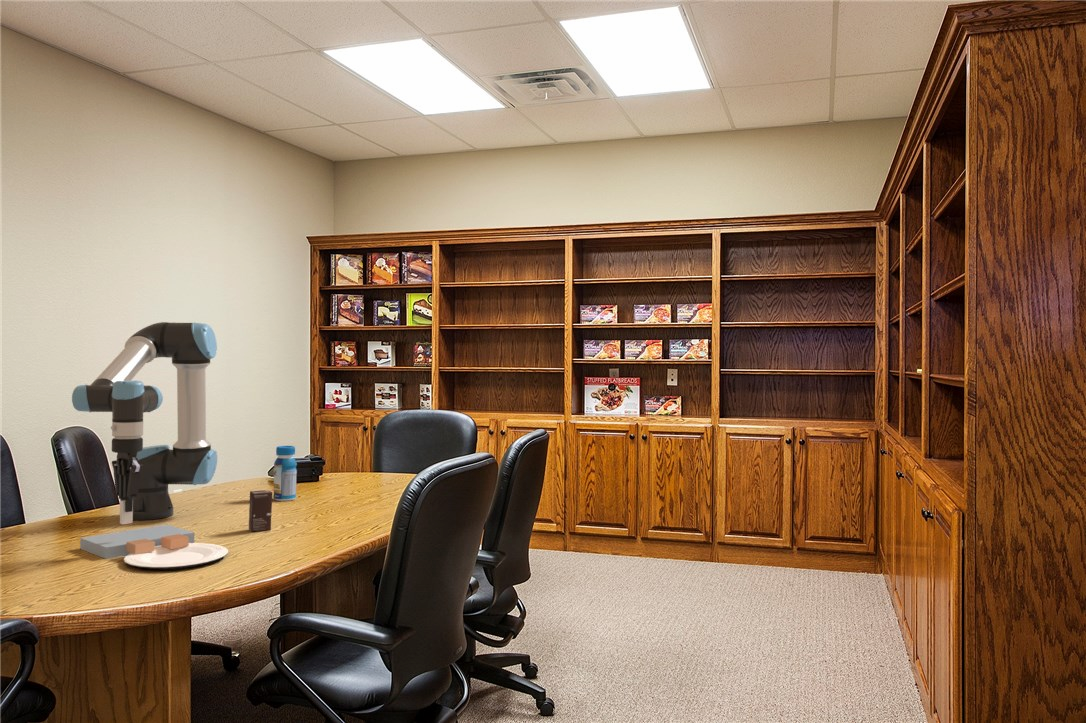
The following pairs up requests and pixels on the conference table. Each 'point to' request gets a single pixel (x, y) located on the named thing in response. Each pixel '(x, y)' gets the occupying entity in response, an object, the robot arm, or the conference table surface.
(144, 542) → the tile
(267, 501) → the box
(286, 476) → the beverage bottle
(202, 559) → the plate
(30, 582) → the conference table surface
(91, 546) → the board
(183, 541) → the tile
